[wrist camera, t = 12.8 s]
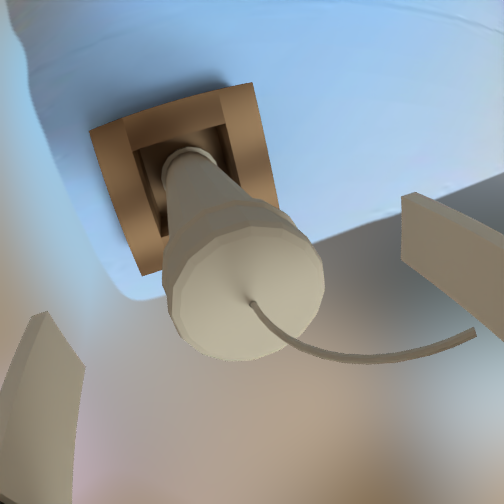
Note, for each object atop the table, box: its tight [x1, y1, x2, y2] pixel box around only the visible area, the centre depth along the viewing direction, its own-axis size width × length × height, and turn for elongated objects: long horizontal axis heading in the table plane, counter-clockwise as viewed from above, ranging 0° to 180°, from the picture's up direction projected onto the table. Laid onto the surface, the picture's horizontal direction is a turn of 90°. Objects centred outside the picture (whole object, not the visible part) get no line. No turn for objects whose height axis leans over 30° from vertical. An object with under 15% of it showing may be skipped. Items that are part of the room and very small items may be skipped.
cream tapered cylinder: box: [161, 146, 477, 364], centre depth 18 cm, size 6×6×30 cm
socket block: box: [89, 82, 280, 276], centre depth 29 cm, size 14×14×7 cm
